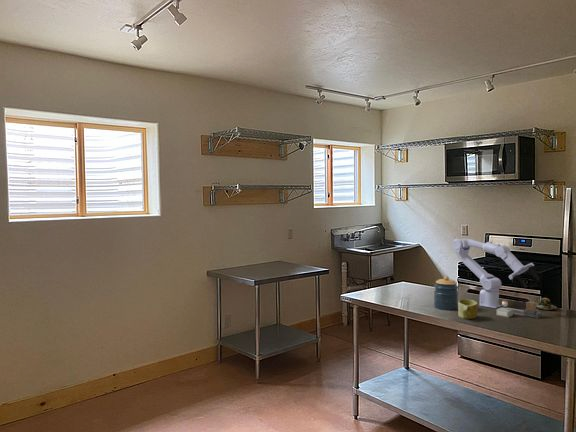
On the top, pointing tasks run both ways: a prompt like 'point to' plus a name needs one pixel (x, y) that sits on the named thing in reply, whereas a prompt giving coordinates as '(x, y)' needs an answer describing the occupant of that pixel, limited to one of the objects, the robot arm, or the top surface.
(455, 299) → the canister
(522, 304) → the top surface
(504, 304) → the orange and white dome
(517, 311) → the rail
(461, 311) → the mug
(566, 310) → the top surface
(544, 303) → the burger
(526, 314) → the carriage
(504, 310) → the grey square block
